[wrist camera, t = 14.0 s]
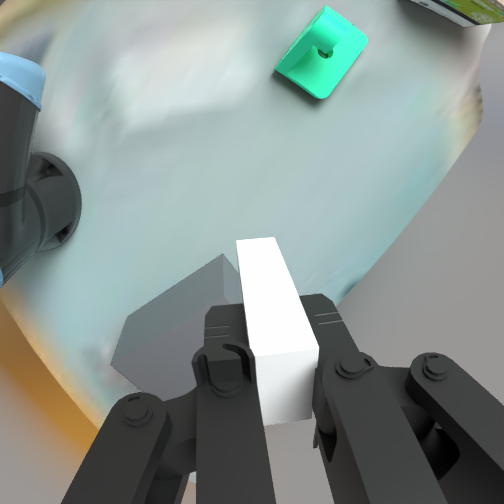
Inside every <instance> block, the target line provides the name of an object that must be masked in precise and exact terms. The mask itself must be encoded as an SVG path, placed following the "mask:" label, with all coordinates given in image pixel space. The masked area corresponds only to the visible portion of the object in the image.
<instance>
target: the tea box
mask: <svg viewBox="0 0 504 504" xmlns="http://www.w3.org/2000/svg"><path fill="white" fill-rule="evenodd" d="M411 1H413V2H416V3H418V4H420V5H422V6H424V7H426V8H429V9H431V10H433V11H435V12H436V13H438V14H440V15H442V16H445V17H446V18H448V19H450V20H452V21H453V22H455V23H457V24H459V25H461V26H463V27H470V26H476V25H484V24H489V23H500V22H504V0H411Z"/></svg>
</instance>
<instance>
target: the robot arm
mask: <svg viewBox="0 0 504 504" xmlns="http://www.w3.org/2000/svg"><path fill="white" fill-rule="evenodd" d="M44 85H45V73H44V71H43V69H42V68H41V67H40V66H39V65H38V64H36V63H34V62H32V61H30V60H27V59H24V58H22V57H18V56H15V55H12V54H8V53H4V52H0V289H1V288H2V286H3V285H4V284H5V283H6V282H7V280H8V279H9V278H10V277H11V276H12V275H13V274H14V273H15V272H16V271H17V270H18V269H19V268H20V267H21V266H22V265H23V264H24V263H25V262H26V261H27V260H28V259H29V258H30V257H31V256H32V255H33V254H34V253H38V252H42V251H46V250H50V249H53V248H55V247H57V246H59V245H60V244H62V243H63V242H64V241H65V240H66V239H67V238H68V237H69V236H70V235H71V234H72V233H73V231H74V230H75V228H76V226H77V224H78V222H79V219H80V214H81V193H80V189H79V185H78V182H77V180H76V178H75V176H74V174H73V172H72V171H71V169H70V168H69V167H68V166H67V165H66V163H64V162H63V161H62V160H61V159H60V158H58V157H56V156H55V155H52V154H50V153H45V152H35V153H31V149H32V144H33V138H34V133H35V128H36V123H37V118H38V114H39V112H40V111H41V99H42V94H43V89H44ZM236 245H237V257H238V269H239V280H240V292H241V302H242V303H239V304H229V305H217V306H212V307H211V308H210V309H209V311H208V312H207V314H206V315H205V325H204V328H205V329H204V346H203V347H201V348H200V349H199V350H198V351H197V352H196V353H195V354H194V356H193V359H192V362H191V364H192V368H193V372H194V376H195V380H196V384H197V386H196V387H195V388H194V389H193V390H191V391H190V392H188V393H187V394H184V395H182V396H180V397H177V398H173V399H170V400H166V401H162V400H161V399H160V398H159V397H158V396H156V395H153V394H150V393H141V392H137V393H133V394H129V395H127V396H125V397H123V398H122V399H120V400H118V401H117V403H116V404H115V405H114V406H113V407H112V409H111V411H110V412H109V414H108V416H107V418H106V420H105V421H104V423H103V425H102V427H101V429H100V430H99V432H98V434H97V436H96V438H95V440H94V441H93V443H92V445H91V447H90V449H89V451H88V453H87V454H86V456H85V458H84V460H83V462H82V464H81V466H80V468H79V470H78V471H77V473H76V475H75V477H74V479H73V481H72V483H71V485H70V487H69V489H68V491H67V492H66V494H65V496H64V498H63V500H62V502H61V504H181V501H182V498H183V495H184V492H185V489H186V485H187V482H188V479H189V476H190V473H192V472H196V504H276V500H275V494H274V488H273V482H272V475H271V469H270V463H269V457H268V451H267V445H266V438H265V432H264V425H272V424H279V423H287V422H293V421H299V420H306V419H311V418H312V410H313V411H314V414H315V418H316V428H315V434H314V440H313V448H317V446H318V445H319V449H320V452H321V456H322V459H323V463H324V466H325V470H326V474H327V478H328V481H329V485H330V489H331V492H332V496H333V500H334V504H504V406H503V405H502V404H501V403H500V402H499V401H498V400H497V399H496V398H495V397H494V396H492V395H491V394H490V393H489V392H488V391H487V390H486V389H485V388H484V387H482V386H481V385H480V384H479V383H478V382H477V381H476V380H475V379H473V378H472V377H471V376H470V375H469V374H468V373H467V372H466V371H464V370H463V369H462V368H461V367H460V366H458V365H457V364H456V363H455V362H454V361H453V360H452V359H450V358H448V357H447V356H445V355H442V354H438V353H424V354H421V355H418V356H417V357H416V358H415V359H414V360H413V361H412V364H411V366H410V368H401V367H399V368H398V367H384V366H379V365H378V364H377V363H376V362H375V360H374V359H373V358H372V357H371V356H369V355H367V354H365V353H363V352H359V350H358V348H357V346H356V344H355V343H354V341H353V339H352V337H351V335H350V333H349V331H348V329H347V328H346V326H345V324H344V322H343V321H342V318H341V316H340V315H339V313H338V311H337V309H336V307H335V305H334V303H333V302H332V301H331V300H330V299H328V298H327V297H326V296H324V295H323V294H322V293H321V294H313V295H305V296H298V294H297V291H296V289H295V286H294V284H293V281H292V279H291V277H290V274H289V272H288V269H287V267H286V264H285V262H284V260H283V257H282V255H281V252H280V250H279V248H278V245H277V243H276V240H275V238H274V237H270V238H258V239H247V240H236Z"/></svg>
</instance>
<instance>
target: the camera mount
mask: <svg viewBox="0 0 504 504" xmlns="http://www.w3.org/2000/svg"><path fill="white" fill-rule="evenodd" d="M367 42H368V40H367V37H366V36H365V35H364V34H363V33H362V32H361V31H359V30H358V29H357V28H356V27H354V26H353V25H352V24H351V23H349V22H348V21H347V20H345V19H344V18H343V17H341V16H340V15H339V14H337V13H336V12H335V11H333V10H332V9H331V8H329V7H328V6H326V5H325V6H324V7H323V8H322V9H321V11H320V12H319V13H318V14H317V15H316V17H315V18H314V19H313V20H312V21H311V23H310V24H309V25H308V26H307V27H306V28H305V29H304V31H303V32H302V33H301V34H300V36H299V37H298V38H297V39H296V41H295V42H294V43H293V45H292V46H291V47H290V48H289V50H288V51H287V53H286V54H285V55H284V57H283V58H282V59H281V61H280V62H279V63H278V64H277V66H276V67H275V68H274V69H275V70H277V71H278V72H280V73H281V74H283V75H284V76H286V77H287V78H288V79H290V80H291V81H293V82H294V83H296V84H297V85H298V86H300V87H301V88H303V89H304V90H305V91H307V92H308V93H310V94H311V95H312V96H314V97H315V98H317V99H322V98H326V97H328V96H329V94H330V93H331V91H332V90H333V89H334V87H335V86H336V85H337V83H338V82H339V81H340V79H341V78H342V77H343V75H344V74H345V72H346V71H347V70H348V68H349V67H350V66H351V64H352V63H353V62H354V60H355V59H356V58H357V56H358V55H359V54H360V52H361V51H362V50H363V48H364V47H365V46H366V44H367ZM318 49H319V50H321V51H322V52H323V53H325V54H326V53H328V57H327V59H325V58H322V57H321V56H320V55H319V54H318Z"/></svg>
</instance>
